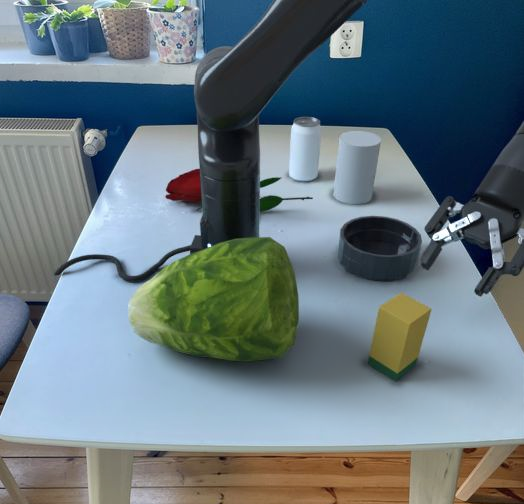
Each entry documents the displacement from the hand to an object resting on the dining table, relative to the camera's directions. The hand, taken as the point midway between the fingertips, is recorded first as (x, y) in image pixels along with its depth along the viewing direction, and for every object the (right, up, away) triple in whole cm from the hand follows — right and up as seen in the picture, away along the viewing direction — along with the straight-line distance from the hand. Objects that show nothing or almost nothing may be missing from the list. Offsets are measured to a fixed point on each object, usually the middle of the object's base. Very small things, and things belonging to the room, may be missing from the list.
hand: (450, 280), depth 75 cm
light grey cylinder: (-7, +23, +39) cm, 46 cm away
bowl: (-6, +6, +20) cm, 22 cm away
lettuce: (-33, -9, +3) cm, 34 cm away
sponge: (-8, -12, 0) cm, 14 cm away
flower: (-31, +19, +34) cm, 49 cm away
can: (-17, +29, +46) cm, 57 cm away
